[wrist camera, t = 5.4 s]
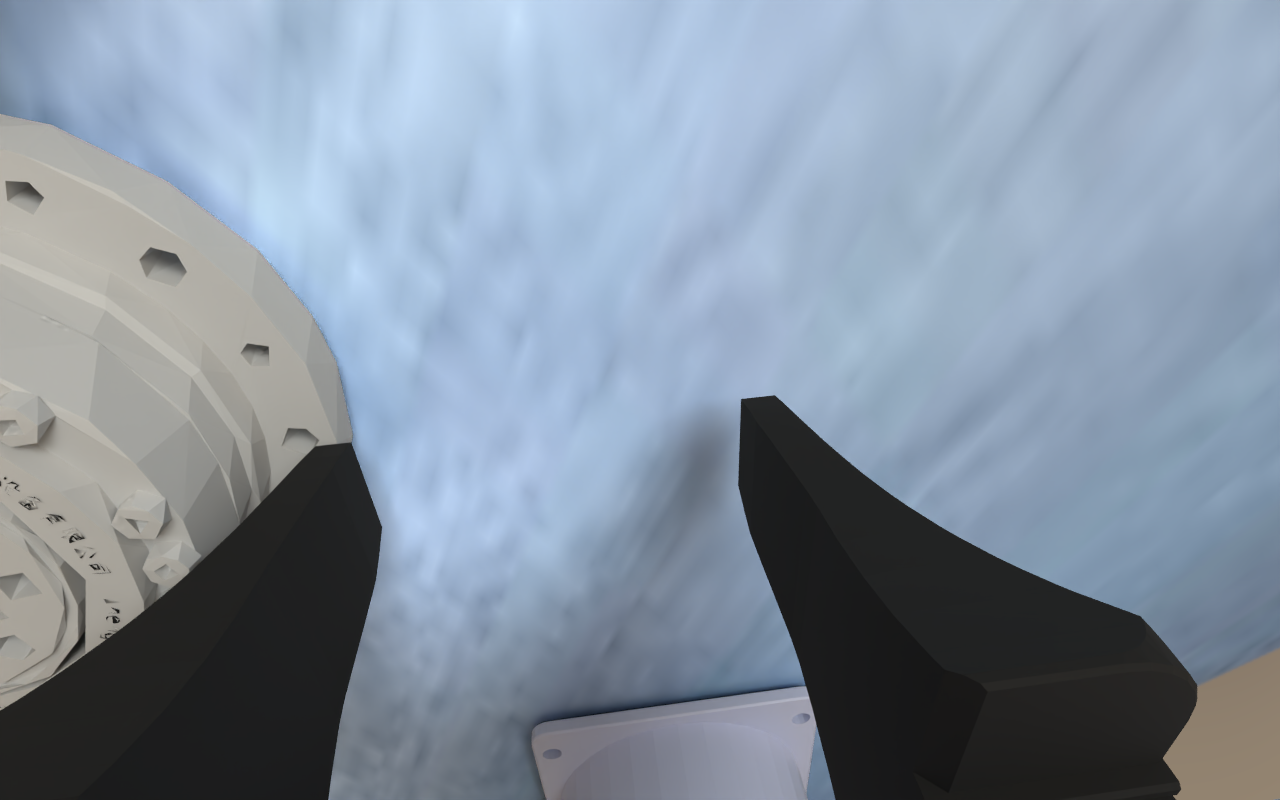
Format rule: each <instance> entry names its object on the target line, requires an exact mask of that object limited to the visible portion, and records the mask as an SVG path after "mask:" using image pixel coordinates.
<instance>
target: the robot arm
mask: <svg viewBox="0 0 1280 800" xmlns="http://www.w3.org/2000/svg"><path fill="white" fill-rule="evenodd" d="M738 486H739V490H740V494H741V498H742V503H743V507H744V511H745V515H746V519H747V522H748V526H749V530H750V534H751V536H752V539H753V542H754V544H755V547H756V550H757V552H758V555H759V557H760V560H761V563H762V565H763V568H764V570H765V573H766V575H767V578H768V580H769V583H770V586H771V588H772V591H773V593H774V596H775V598H776V601H777V603H778V606H779V608H780V611H781V613H782V616H783V619H784V621H785V624H786V626H787V629H788V631H789V634H790V636H791V639H792V642H793V645H794V648H795V651H796V654H797V657H798V659H799V663H800V666H801V670H802V673H803V677H804V681H805V684H806V686H798V687H791V688H784V689H777V690H770V691H762V692H755V693H748V694H741V695H734V696H727V697H719V698H712V699H705V700H698V701H691V702H683V703H676V704H669V705H662V706H655V707H648V708H640V709H633V710H626V711H619V712H612V713H605V714H597V715H590V716H583V717H576V718H569V719H561V720H554V721H547V722H543V723H541V724H539V725H537V726H536V727H535V728H534V729H533V730H532V739H531V745H532V749H533V753H534V757H535V760H536V764H537V768H538V771H539V775H540V779H541V783H542V786H543V790H544V794H545V798H546V800H808V798H807V795H806V791H807V784H808V778H809V771H810V764H811V758H812V751H813V744H814V737H815V731H816V724H817V728H818V732H819V736H820V740H821V743H822V747H823V751H824V755H825V759H826V763H827V766H828V770H829V774H830V779H831V783H832V787H833V791H834V795H835V799H836V800H1176V799H1175V798H1174V797H1173V795H1177V794H1178V793H1179V791H1180V790H1181V787H1180V783H1179V781H1178V779H1177V778H1176V777H1175V775H1174V774H1173V772H1172V771H1171V770H1170V768H1169V767H1168V765H1167V764H1166V763H1165V761H1164V760H1163V757H1164V755H1165V754H1166V752H1167V751H1168V749H1169V748H1170V747H1171V745H1172V744H1173V742H1174V741H1175V739H1176V738H1177V736H1178V735H1179V733H1180V732H1181V731H1182V729H1183V728H1184V726H1185V725H1186V723H1187V722H1188V720H1189V718H1190V716H1191V714H1192V712H1193V710H1194V708H1195V706H1196V702H1197V684H1196V683H1195V681H1194V680H1193V678H1192V677H1191V675H1190V674H1189V673H1188V671H1187V670H1186V669H1185V668H1184V666H1183V665H1182V664H1181V663H1180V661H1179V660H1178V659H1177V658H1176V657H1175V655H1174V654H1173V653H1172V652H1171V650H1170V649H1169V648H1168V647H1167V645H1166V644H1165V643H1164V642H1163V641H1162V640H1161V638H1160V637H1159V636H1158V635H1157V634H1156V633H1155V632H1154V631H1153V629H1152V628H1151V627H1150V626H1149V625H1148V624H1147V623H1146V622H1145V621H1144V620H1143V619H1142V618H1141V616H1138V615H1135V614H1133V613H1130V612H1127V611H1125V610H1122V609H1119V608H1117V607H1114V606H1111V605H1109V604H1106V603H1103V602H1100V601H1098V600H1095V599H1092V598H1090V597H1087V596H1084V595H1082V594H1079V593H1076V592H1073V591H1071V590H1068V589H1066V588H1063V587H1061V586H1059V585H1056V584H1054V583H1052V582H1049V581H1047V580H1045V579H1043V578H1040V577H1038V576H1036V575H1034V574H1031V573H1029V572H1027V571H1024V570H1022V569H1020V568H1018V567H1016V566H1014V565H1012V564H1010V563H1007V562H1005V561H1003V560H1001V559H999V558H997V557H995V556H993V555H991V554H989V553H987V552H986V551H984V550H982V549H980V548H978V547H976V546H974V545H972V544H970V543H969V542H967V541H965V540H963V539H961V538H959V537H957V536H956V535H954V534H952V533H950V532H949V531H947V530H945V529H943V528H942V527H940V526H938V525H937V524H935V523H934V522H932V521H930V520H929V519H927V518H926V517H924V516H922V515H921V514H919V513H918V512H916V511H915V510H913V509H911V508H910V507H908V506H907V505H905V504H904V503H902V502H901V501H899V500H898V499H896V498H895V497H894V496H892V495H891V494H889V493H888V492H887V491H885V490H884V489H883V488H881V487H880V486H879V485H877V484H876V483H875V482H873V481H872V480H871V479H869V478H868V477H867V476H865V475H864V474H863V473H861V472H860V471H859V470H858V469H856V468H855V467H854V466H853V465H852V464H851V463H849V462H848V461H847V460H846V459H845V458H843V457H842V456H841V455H840V454H839V453H838V452H836V451H835V450H834V449H833V448H832V447H831V446H829V445H828V444H827V443H826V442H825V441H824V440H823V439H822V438H820V437H819V436H818V435H817V434H816V433H815V432H814V431H813V430H812V429H811V428H810V427H808V426H807V425H806V424H805V423H804V422H803V421H802V420H801V419H800V418H799V417H798V416H797V415H796V414H795V413H794V412H792V411H791V410H790V409H789V408H788V407H787V406H786V405H785V404H784V403H783V402H782V401H781V400H779V399H778V398H777V397H776V396H775V395H774V396H765V397H756V398H747V399H741V421H740V451H739V480H738ZM381 532H382V526H381V523H380V521H379V518H378V515H377V512H376V509H375V507H374V504H373V501H372V498H371V496H370V493H369V490H368V487H367V485H366V482H365V479H364V476H363V474H362V471H361V468H360V465H359V463H358V460H357V457H356V454H355V452H354V449H353V446H352V443H351V442H349V443H340V444H331V445H322V446H315V447H314V448H313V449H312V450H311V451H310V452H309V453H308V454H307V455H306V456H305V457H304V458H303V459H302V460H301V461H300V462H299V463H298V464H297V465H296V466H295V467H294V468H293V469H292V470H291V471H290V473H289V474H288V475H287V476H286V477H285V478H284V479H283V480H282V481H281V482H280V483H279V484H278V485H277V486H276V487H275V489H274V490H273V491H272V492H271V493H270V494H269V495H268V496H267V497H266V498H265V499H264V500H263V501H262V502H261V503H260V504H259V505H258V506H257V507H256V508H255V509H254V510H253V511H252V512H251V513H250V515H249V516H248V517H247V518H246V519H245V520H244V521H243V522H242V523H241V524H240V525H239V526H238V527H237V528H236V529H235V530H234V531H233V532H232V533H231V534H230V535H229V536H228V537H226V538H225V539H224V540H223V541H222V542H221V543H220V544H219V545H218V546H217V547H216V548H215V549H214V550H213V551H212V552H211V553H210V554H209V555H207V556H206V557H205V558H204V559H203V560H202V561H201V562H200V563H199V564H198V565H197V566H196V567H195V568H194V569H193V570H192V571H191V572H189V573H188V574H187V575H186V576H185V577H184V578H183V579H182V580H180V581H179V582H178V583H177V584H176V585H175V586H173V587H172V588H171V589H170V590H169V591H168V592H166V593H165V594H164V595H163V596H162V597H160V598H159V599H158V600H157V601H155V602H154V603H153V604H152V605H151V606H149V607H148V608H147V609H146V610H144V611H143V612H142V613H141V614H139V615H138V616H137V617H136V618H134V619H133V620H132V621H131V622H129V623H128V624H127V625H125V626H124V627H123V628H121V629H120V630H119V631H117V632H116V633H114V634H113V635H112V636H110V637H109V638H107V639H106V640H105V641H103V642H102V643H100V644H99V645H98V646H96V647H95V648H93V649H92V650H91V651H89V652H88V653H86V654H85V655H84V656H82V657H81V658H79V659H78V660H77V661H75V662H74V663H72V664H71V665H70V666H68V667H67V668H65V669H64V670H63V671H61V672H60V673H58V674H57V675H55V676H54V677H52V678H51V679H49V680H48V681H46V682H45V683H43V684H42V685H40V686H38V687H37V688H35V689H34V690H32V691H31V692H29V693H28V694H26V695H25V696H23V697H21V698H20V699H18V700H17V701H15V702H13V703H12V704H10V705H8V706H7V707H5V708H4V709H2V710H0V800H328V797H329V789H330V782H331V775H332V768H333V762H334V755H335V749H336V742H337V736H338V729H339V723H340V718H341V713H342V709H343V704H344V700H345V695H346V692H347V688H348V684H349V680H350V677H351V673H352V669H353V665H354V662H355V658H356V654H357V650H358V647H359V643H360V639H361V635H362V632H363V628H364V624H365V620H366V616H367V613H368V609H369V605H370V601H371V597H372V593H373V589H374V585H375V581H376V575H377V567H378V560H379V551H380V541H381ZM1275 800H1280V799H1275Z"/></svg>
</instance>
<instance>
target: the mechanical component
mask: <svg viewBox="0 0 1280 800" xmlns="http://www.w3.org/2000/svg"><path fill="white" fill-rule="evenodd" d="M352 438H353V433H352V428H351V424H350V419H349V415H348V411H347V406H346V402H345V397H344V393H343V388H342V384H341V379H340V375H339V370H338V366H337V362H336V360H335V358H334V356H333V355H332V353H331V351H330V349H329V347H328V345H327V343H326V341H325V339H324V337H323V335H322V333H321V331H320V329H319V328H318V326H317V324H316V322H315V320H314V318H313V316H312V315H311V314H310V312H309V311H308V310H307V309H306V307H305V306H304V305H303V304H302V303H301V301H300V300H299V299H298V298H297V297H296V295H295V294H294V293H293V292H292V290H291V289H290V288H289V287H288V286H287V284H286V283H285V282H284V281H283V280H282V278H281V277H280V276H279V275H278V274H277V272H276V271H275V270H274V269H273V267H272V266H271V265H270V264H269V263H268V261H267V260H266V259H265V258H264V257H263V255H262V254H261V253H260V252H259V250H258V249H256V248H255V247H254V246H252V245H251V244H250V243H248V242H247V241H246V240H244V239H243V238H242V237H240V236H239V235H238V234H236V233H235V232H234V231H232V230H231V229H230V228H228V227H227V226H226V225H224V224H223V223H222V222H220V221H219V220H218V219H217V218H215V217H214V216H213V215H211V214H210V213H209V212H207V211H206V210H205V209H203V208H202V207H201V206H199V205H198V204H197V203H195V202H194V201H193V200H191V199H190V198H189V197H187V196H186V195H185V194H183V193H182V192H181V191H179V190H178V189H177V188H176V187H174V186H173V185H172V184H170V183H169V182H168V181H166V180H164V179H162V178H159V177H157V176H155V175H153V174H151V173H149V172H147V171H145V170H143V169H141V168H139V167H137V166H135V165H133V164H131V163H129V162H127V161H125V160H123V159H121V158H118V157H116V156H114V155H112V154H110V153H108V152H106V151H104V150H102V149H100V148H98V147H96V146H94V145H92V144H90V143H88V142H86V141H84V140H82V139H80V138H78V137H75V136H73V135H71V134H69V133H67V132H65V131H63V130H61V129H59V128H57V127H55V126H53V125H50V124H45V123H41V122H36V121H31V120H26V119H21V118H16V117H12V116H7V115H2V114H0V710H2V709H4V708H5V707H7V706H8V705H10V704H12V703H13V702H15V701H17V700H18V699H20V698H21V697H23V696H25V695H26V694H28V693H29V692H31V691H32V690H34V689H35V688H37V687H38V686H40V685H42V684H43V683H45V682H46V681H48V680H49V679H51V678H52V677H54V676H55V675H57V674H58V673H60V672H61V671H63V670H64V669H65V668H67V667H68V666H70V665H71V664H72V663H74V662H75V661H77V660H78V659H79V658H81V657H82V656H84V655H85V654H86V653H88V652H89V651H91V650H92V649H93V648H95V647H96V646H98V645H99V644H100V643H102V642H103V641H105V640H106V639H107V638H109V637H110V636H112V635H113V634H114V633H116V632H117V631H119V630H120V629H121V628H123V627H124V626H125V625H127V624H128V623H129V622H131V621H132V620H133V619H134V618H136V617H137V616H138V615H139V614H141V613H142V612H143V611H144V610H146V609H147V608H148V607H149V606H151V605H152V604H153V603H154V602H155V601H157V600H158V599H159V598H160V597H162V596H163V595H164V594H165V593H166V592H168V591H169V590H170V589H171V588H172V587H173V586H175V585H176V584H177V583H178V582H179V581H180V580H182V579H183V578H184V577H185V576H186V575H187V574H188V573H189V572H191V571H192V570H193V569H194V568H195V567H196V566H197V565H198V564H199V563H200V562H201V561H202V560H203V559H204V558H205V557H206V556H207V555H209V554H210V553H211V552H212V551H213V550H214V549H215V548H216V547H217V546H218V545H219V544H220V543H221V542H222V541H223V540H224V539H225V538H226V537H228V536H229V535H230V534H231V533H232V532H233V531H234V530H235V529H236V528H237V527H238V526H239V525H240V524H241V523H242V522H243V521H244V520H245V519H246V518H247V517H248V516H249V515H250V513H251V512H252V511H253V510H254V509H255V508H256V507H257V506H258V505H259V504H260V503H261V502H262V501H263V500H264V499H265V498H266V497H267V496H268V495H269V494H270V493H271V492H272V491H273V490H274V489H275V487H276V486H277V485H278V484H279V483H280V482H281V481H282V480H283V479H284V478H285V477H286V476H287V475H288V474H289V473H290V471H291V470H292V469H293V468H294V467H295V466H296V465H297V464H298V463H299V462H300V461H301V460H302V459H303V458H304V457H305V456H306V455H307V454H308V453H309V452H310V451H311V450H312V449H313V448H314V447H315V446H322V445H331V444H340V443H349V442H352Z"/></svg>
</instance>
